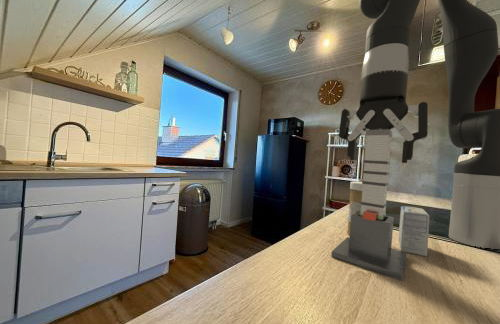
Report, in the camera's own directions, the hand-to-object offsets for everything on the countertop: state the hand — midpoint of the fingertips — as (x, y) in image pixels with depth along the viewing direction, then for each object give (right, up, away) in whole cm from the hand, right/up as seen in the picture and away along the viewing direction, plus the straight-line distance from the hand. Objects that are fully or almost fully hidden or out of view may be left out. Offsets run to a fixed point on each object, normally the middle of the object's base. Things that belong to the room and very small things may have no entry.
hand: (377, 161), depth 41 cm
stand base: (-1, -19, 0) cm, 19 cm away
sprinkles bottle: (+2, -19, +13) cm, 23 cm away
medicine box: (+12, -20, +7) cm, 24 cm away
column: (-1, -11, 0) cm, 11 cm away
